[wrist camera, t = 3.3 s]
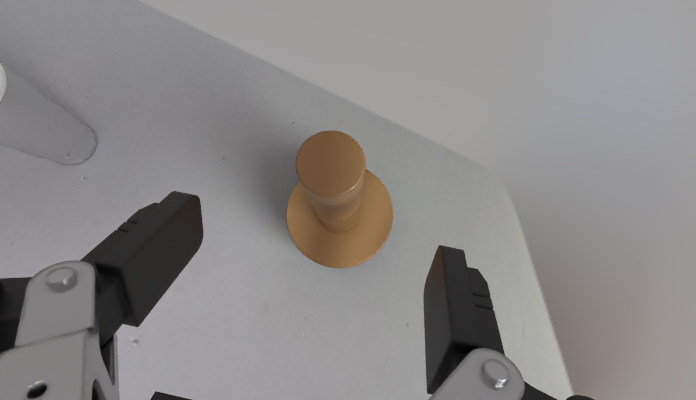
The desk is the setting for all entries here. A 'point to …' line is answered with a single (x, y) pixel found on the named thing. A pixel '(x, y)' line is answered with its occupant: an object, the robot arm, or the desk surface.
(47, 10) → the desk surface
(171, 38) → the desk surface
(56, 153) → the milkshake
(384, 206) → the brush
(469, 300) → the robot arm
